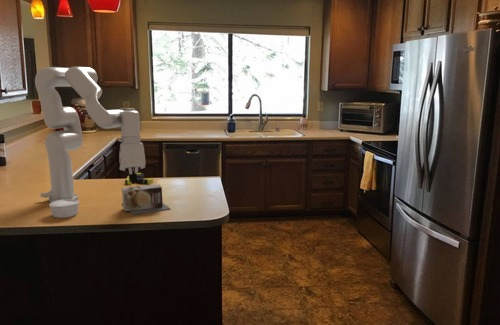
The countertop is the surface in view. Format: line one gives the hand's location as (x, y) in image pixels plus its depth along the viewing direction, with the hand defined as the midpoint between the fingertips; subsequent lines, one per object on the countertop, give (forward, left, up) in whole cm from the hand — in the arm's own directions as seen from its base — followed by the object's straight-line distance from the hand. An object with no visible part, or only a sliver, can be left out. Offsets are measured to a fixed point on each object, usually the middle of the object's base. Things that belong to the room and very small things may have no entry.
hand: (133, 182), depth 181 cm
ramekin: (-27, +6, -12) cm, 30 cm away
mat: (+5, 0, -12) cm, 13 cm away
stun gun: (+19, +50, -12) cm, 54 cm away
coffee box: (-5, -1, -7) cm, 8 cm away
